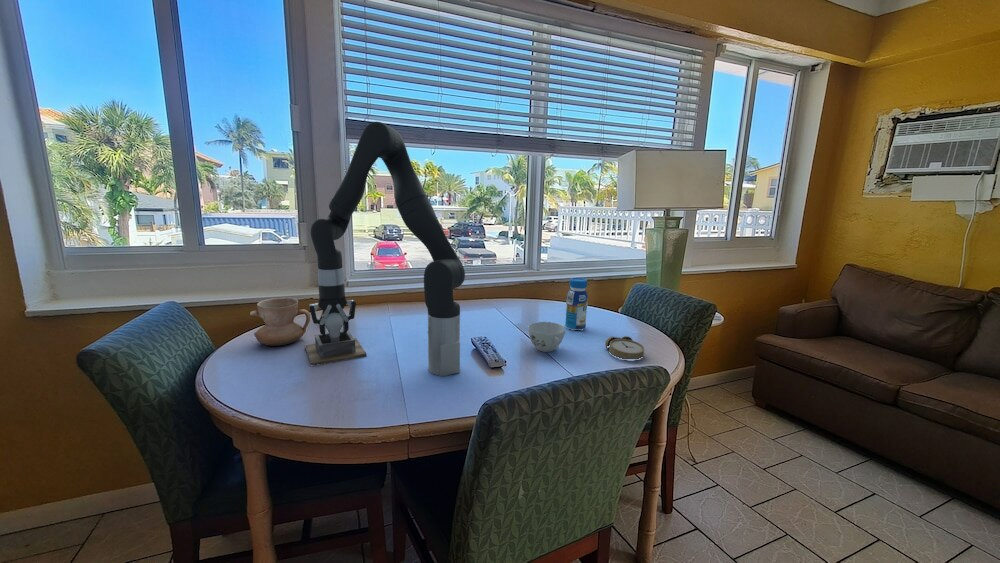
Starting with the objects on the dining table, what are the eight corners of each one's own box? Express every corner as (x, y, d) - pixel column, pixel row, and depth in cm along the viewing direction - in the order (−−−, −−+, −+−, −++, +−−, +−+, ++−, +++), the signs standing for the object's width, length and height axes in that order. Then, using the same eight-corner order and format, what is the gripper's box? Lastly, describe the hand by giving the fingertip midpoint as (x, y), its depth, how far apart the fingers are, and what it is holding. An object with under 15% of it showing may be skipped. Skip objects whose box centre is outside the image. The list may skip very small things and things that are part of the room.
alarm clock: (620, 354, 127) (600, 331, 141) (617, 367, 129) (598, 343, 143) (651, 353, 130) (629, 330, 143) (648, 365, 132) (626, 342, 145)
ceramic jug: (246, 351, 128) (243, 309, 125) (258, 335, 142) (255, 297, 139) (308, 347, 134) (306, 306, 131) (313, 333, 147) (312, 295, 144)
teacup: (521, 344, 142) (522, 322, 140) (553, 341, 146) (554, 320, 144) (539, 360, 128) (540, 337, 126) (574, 356, 132) (575, 333, 130)
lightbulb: (348, 341, 132) (346, 308, 130) (339, 347, 126) (337, 314, 124) (331, 340, 133) (328, 308, 130) (321, 346, 127) (318, 313, 124)
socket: (366, 356, 127) (365, 341, 126) (311, 366, 119) (310, 350, 118) (355, 340, 141) (355, 326, 140) (305, 348, 132) (304, 333, 131)
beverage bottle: (564, 323, 166) (567, 276, 162) (585, 325, 165) (588, 277, 160) (564, 330, 158) (568, 280, 153) (586, 332, 156) (590, 282, 152)
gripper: (307, 287, 118) (311, 340, 122) (357, 282, 125) (360, 333, 129) (304, 282, 124) (308, 333, 128) (352, 278, 132) (355, 327, 135)
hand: (334, 333), depth 128 cm, fingers closed on lightbulb, 5 cm apart
